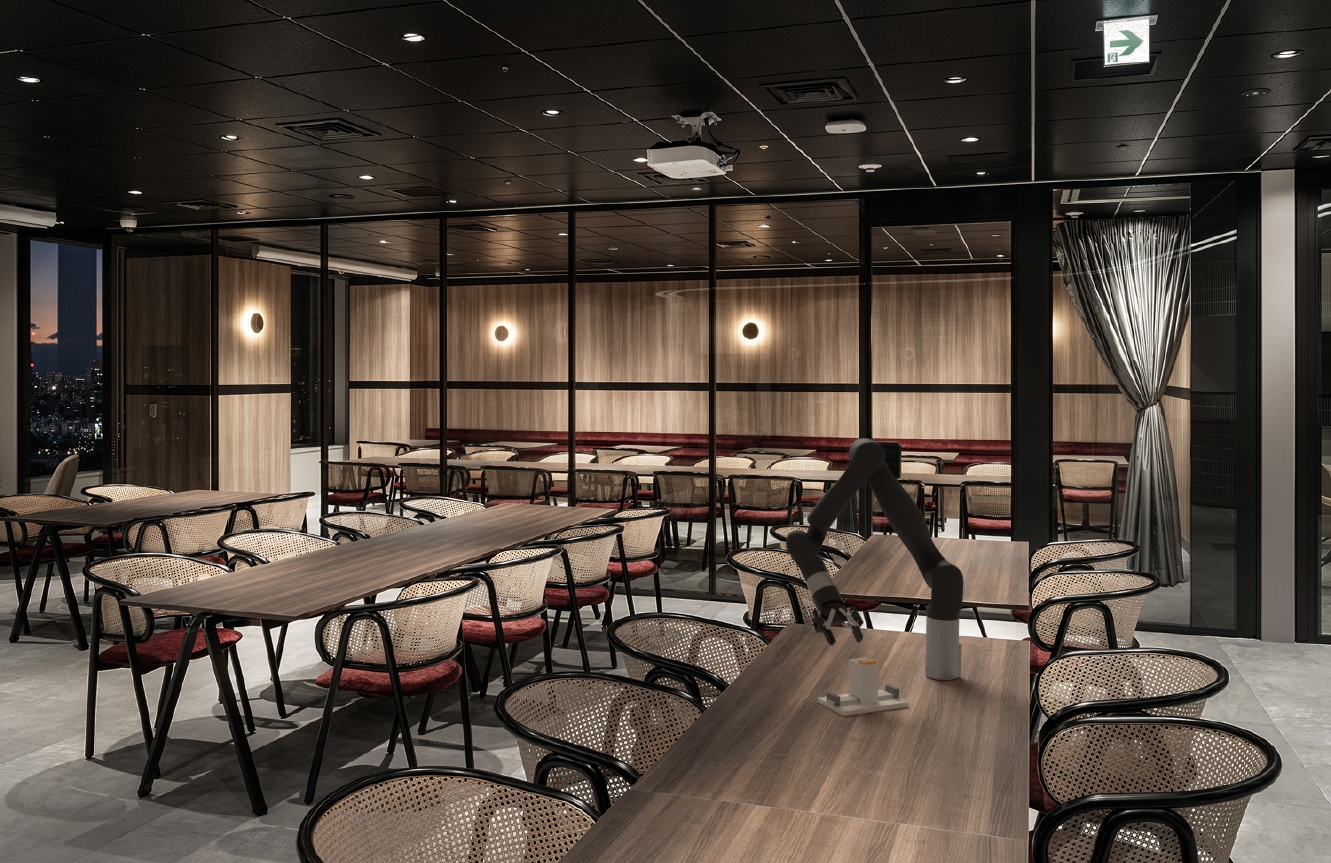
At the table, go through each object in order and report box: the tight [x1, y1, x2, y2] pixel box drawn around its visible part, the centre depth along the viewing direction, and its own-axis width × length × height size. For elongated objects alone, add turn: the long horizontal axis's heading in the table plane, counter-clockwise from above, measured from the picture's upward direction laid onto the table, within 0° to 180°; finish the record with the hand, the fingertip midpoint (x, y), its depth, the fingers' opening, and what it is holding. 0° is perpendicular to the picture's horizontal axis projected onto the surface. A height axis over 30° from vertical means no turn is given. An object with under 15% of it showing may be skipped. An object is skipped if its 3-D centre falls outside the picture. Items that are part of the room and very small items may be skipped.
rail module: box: [847, 657, 880, 704], centre depth 264 cm, size 5×6×11 cm
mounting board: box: [817, 683, 910, 717], centre depth 264 cm, size 20×12×4 cm, turn 114°
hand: (847, 642), depth 271 cm, fingers open, 8 cm apart
